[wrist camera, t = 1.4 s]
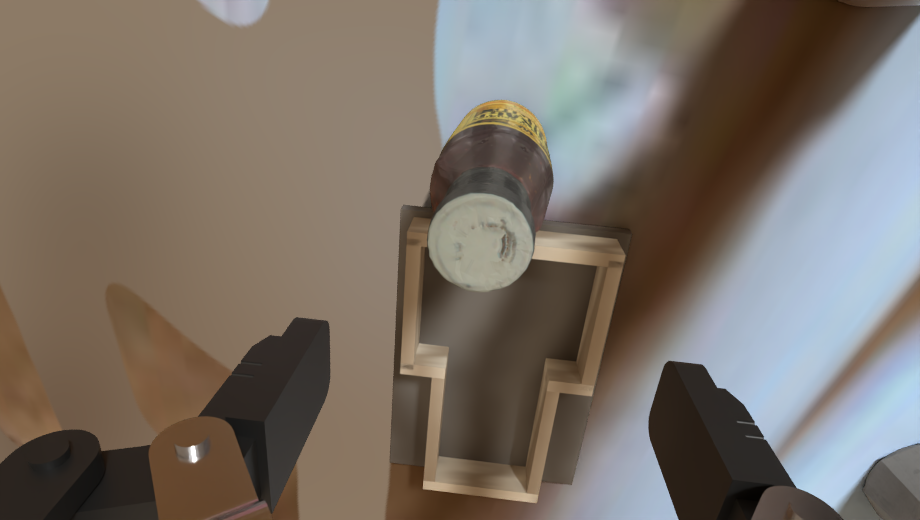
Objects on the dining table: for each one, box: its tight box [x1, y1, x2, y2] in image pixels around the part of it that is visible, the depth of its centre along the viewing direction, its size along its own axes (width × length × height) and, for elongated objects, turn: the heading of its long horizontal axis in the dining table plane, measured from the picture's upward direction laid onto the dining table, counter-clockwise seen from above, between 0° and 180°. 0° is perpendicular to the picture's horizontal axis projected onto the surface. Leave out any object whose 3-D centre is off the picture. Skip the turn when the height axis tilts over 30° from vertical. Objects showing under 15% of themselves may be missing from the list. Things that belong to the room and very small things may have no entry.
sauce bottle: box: [427, 100, 553, 292], centre depth 28 cm, size 7×6×20 cm
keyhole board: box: [390, 205, 632, 503], centre depth 43 cm, size 17×25×4 cm
